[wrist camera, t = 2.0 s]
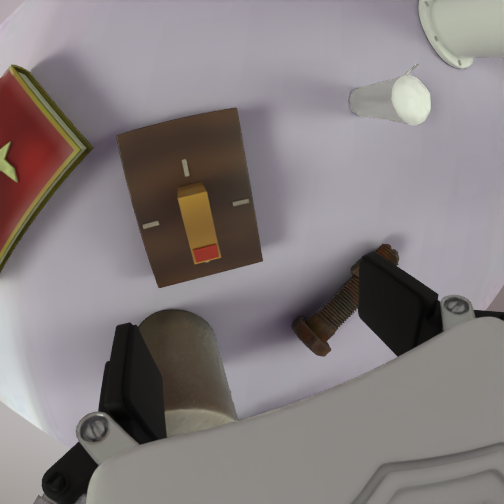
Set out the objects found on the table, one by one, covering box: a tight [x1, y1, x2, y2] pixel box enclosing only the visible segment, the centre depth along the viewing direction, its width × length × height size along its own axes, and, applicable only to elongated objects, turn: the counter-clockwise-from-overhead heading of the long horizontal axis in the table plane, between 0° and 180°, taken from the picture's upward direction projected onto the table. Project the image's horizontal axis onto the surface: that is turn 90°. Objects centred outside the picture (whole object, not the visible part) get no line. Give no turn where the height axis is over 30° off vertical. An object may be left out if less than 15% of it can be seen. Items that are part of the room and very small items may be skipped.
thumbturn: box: [177, 182, 221, 264], centre depth 22 cm, size 5×2×5 cm, turn 10°
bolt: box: [292, 244, 399, 356], centre depth 33 cm, size 6×5×15 cm
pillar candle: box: [138, 310, 238, 438], centre depth 26 cm, size 10×10×15 cm
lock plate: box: [116, 108, 263, 288], centre depth 25 cm, size 14×10×3 cm
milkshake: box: [349, 64, 431, 125], centre depth 22 cm, size 4×5×10 cm
